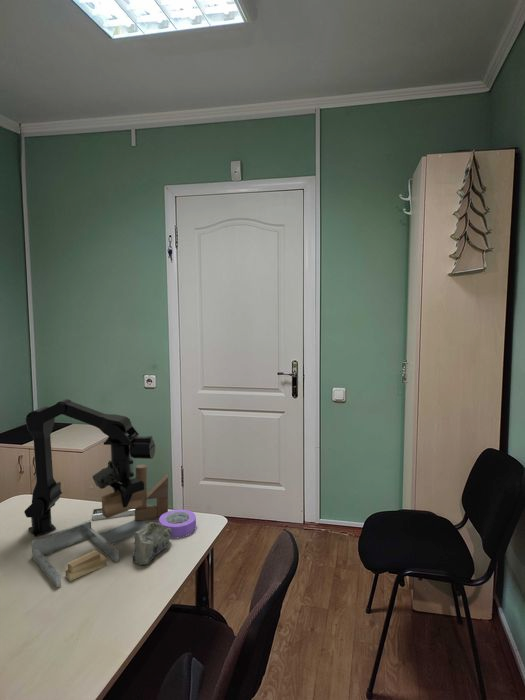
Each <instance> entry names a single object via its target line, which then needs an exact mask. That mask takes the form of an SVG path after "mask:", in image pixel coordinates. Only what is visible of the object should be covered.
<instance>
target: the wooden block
mask: <svg viewBox="0 0 525 700" xmlns="http://www.w3.org/2000/svg"><path fill="white" fill-rule="evenodd" d="M147 470H148V467H147V465H146V464H137V465H135V478H138V479H140V480H141V481H143V482H144V483H145V489H144V490H142V506H140V507H137V508H135V515H134V520H135V521H136V520H140V521H145V520H156V519H157V520H159V518H160V516H161V515H162V514H164V513H166V512H168V511H169V475H168V473H166V474H165V475H164V476H163V477H162V478H161V479H160V481H158V482H157V484H155V485H154V486H153V487H152V488H151V489H150V490H149V491H148V492H147V486H148V484H147V483H148V482H147V480H148V479H147V478H148V477H147V473H148V471H147ZM151 499H152V500H153V499H156V505H152V504H147V501H148V500H151Z"/></svg>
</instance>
